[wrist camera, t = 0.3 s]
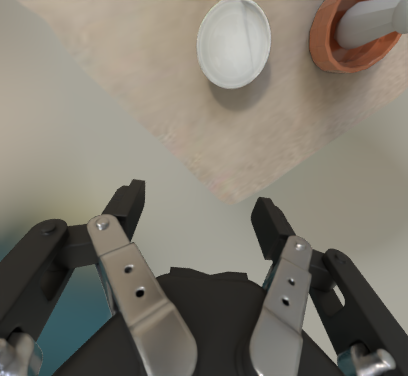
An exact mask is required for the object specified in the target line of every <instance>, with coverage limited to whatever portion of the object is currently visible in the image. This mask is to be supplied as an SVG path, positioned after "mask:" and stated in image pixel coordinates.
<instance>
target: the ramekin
mask: <svg viewBox="0 0 408 376" xmlns="http://www.w3.org/2000/svg"><path fill="white" fill-rule="evenodd" d="M270 48H271V30H270V25H269V22H268V19H267V17H266V15H265V13H264V12H263V10H262V9H261V8H260V7H259V5H257V4H256V3H255V2H254V1H252V0H222V1H220V2H218V3H217V4H216V5H215V6H213V7H212V8H211V10H210V11H209V12H208V13H207V15H206V16H205V18H204V19H203V21H202V23H201V26H200V28H199V32H198V36H197V44H196V50H197V58H198V62H199V65H200V67H201V69H202V71H203V73H204V74H205V76H206V77H207V78H208V79H209V80H210V81H211V82H212V83H213V84H215V85H217V86H219V87H221V88H225V89H237V88H240V87H243V86H245V85H247V84H249V83H251V82H252V81H253V80H254V79H255V78H256V77H257V76H258V75H259V74H260V73H261V71H262V70H263V68H264V66H265V64H266V62H267V60H268V57H269V53H270Z"/></svg>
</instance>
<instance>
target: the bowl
mask: <svg viewBox="0 0 408 376" xmlns="http://www.w3.org/2000/svg"><path fill="white" fill-rule="evenodd" d="M362 1H369V0H324V2H323V3H322V5H321V6H320V8H319V9H318V11H317V13H316V16H315V19H314V21H313V24H312V27H311V30H310V42H309V49H310V52H311V56H312V59H313V62H314V63H315V64H316V65H317V66H318V67H319V68H320V69H321V70H323V71H328V72H332V73H353V72H357V71H361V70H365V69H367V68H369V67H370V66H372V65H373V64H375V63H376V62H378V61H379V60H381V59H382V58H384V56H385V55H386V54H387V53H388V52H389V51H390V50H391V49H392V48H393V46H394V45H395V44H396V43H397V42H398V40H399V38H400V37H401V35H402V34H400V33H398V32H396V31H394V32H391V33H389V34H387V35H384V36H382V37H380V38H378V39H375V40H373V41H371V42H369V43H366V44H364V45H362V46H360V47H357V48H354V49H345V48H343V47H341V46H340V45H339V44H338V42H337V41H336V40H335V39H334V33H335V28H336V24H337V23H338V22H339V21H340V19H341V18H342V17H343V15H344V14H345V13H346V11H347V10H348V9H350V8H351V7H352V6H354V5H355V4H357V3H358V2H362Z"/></svg>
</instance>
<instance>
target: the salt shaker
mask: <svg viewBox="0 0 408 376" xmlns="http://www.w3.org/2000/svg"><path fill="white" fill-rule="evenodd" d="M394 31H396V32H398V33H400V34H406V33H408V0H369V1H362V2H358V3H357V4H355V5H354V6H352V7H351V8H350V9H348V10H347V11H346V13H345V14H344V15H343V17H342V18H341V19H340V21H339V22H338V23H337V24H336V28H335V33H334V39H335V40H336V41H337V42H338V44H339V45H340V46H341V47H343V48H345V49H354V48H357V47H360V46H362V45H364V44H366V43H369V42H371V41H373V40H375V39H378V38H380V37H382V36H384V35H387V34H389V33H391V32H394Z"/></svg>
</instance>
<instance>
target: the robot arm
mask: <svg viewBox="0 0 408 376" xmlns="http://www.w3.org/2000/svg"><path fill="white" fill-rule="evenodd" d="M144 203H145V181H142V180H135V179H133V180H132V182H131V184H130V185H129V186H122V187H120V188H119V189H117V191H116V192H115V194H114V196H113V197H112V199H111V200H110V202H109V203H108V205H107V206H106V208H105V210H104V211H103V212H102V214H101V215H98V216H95V217H94V218H92V219H91V220H89V222H88V223H87V224H83V225H75V226H67V223H66V222H65V221H63V220H60V219H50V220H46V221H43V222H40V223H38V224H37V225H35V226H34V227H32V228H31V230H30V231H29V232H28V233H27V234H26V235H25V236H24V237H23V238H22V239H21V240H20V241H19V242H18V243H17V245H16V246H15V247H14V248H13V249H12V250H11V251H10V252H9V253H8V254H7V255H6V256H5V257H4V259H3V260H2V261H1V262H0V376H38V373H39V370H40V367H41V364H42V360H43V354H42V351H41V349H40V347H39V346H38V345H37V344H36V341H37V339H38V337H39V336H40V334H41V332H42V330H43V328H44V326H45V324H46V322H47V320H48V319H49V316H50V315H51V313H52V311H53V309H54V307H55V305H56V303H57V301H58V300H59V298H60V296H61V294H62V292H63V290H64V288H65V286H66V285H67V283H68V281H69V279H70V277H71V275H72V273H73V271H74V269H75V268H76V267H82V266H87V265H92V264H95V267H96V269H97V272H98V275H99V277H100V280H101V283H102V286H103V289H104V291H105V295H106V298H107V302H108V305H109V308H110V311H111V314H112V317H111V318H110V319H109V320H108V321H107V322H106V323H105V324H104V325H103V326H102V327H101V328H100V329H99V330H98V331H97V332H96V333H95V334H94V335H93V336H91V338H90V339H88V340H87V341H86V343H84V344H83V345H82V346H81V347H80V348H79V349H78V350H77V351H76V352H75V353H74V354H73V355H72V356H71V357H70V358H69V359H68V360H67V361H66V362H64V363H63V364H62V365H61V366H60V367H59V368H58V369H57V370H56V371H55V372H54V374H53V375H52V376H408V336H407V334H406V333H405V331H404V330H403V329H402V327H401V326H400V325H399V323H398V322H397V321H396V319H395V318H394V317H393V316H392V314H391V313H390V311H389V310H388V309H387V308H386V306H385V305H384V303H383V302H382V301H381V299H380V298H379V297H378V295H377V294H376V293H375V291H374V290H373V289H372V287H371V286H370V285H369V283H368V282H367V281H366V279H365V278H364V277H363V275H362V274H361V273H360V271H359V270H358V269H357V267H356V266H355V265H354V263H353V262H352V261H351V259H350V258H349V257H348V256H347V255H345V254H344V253H342V252H340V251H339V250H336V249H328V250H327V251H326V252H325V253H322V252H319V251H316V250H314V249H312V247H311V245H310V244H309V243H308V242H307V241H306V240H305V239H303V238H301V237H299V236H296V234H295V233H294V231H293V229H292V227H291V226H290V224H289V223H288V222H287V219H286V218H285V216H284V214H283V212H282V211H281V210H280V209H279V208H278V207H277V206H275V205H274V204H273V202H272V200H271V199H270V198H264V197H259V198H258V199H257V202H256V204H255V207H254V209H253V211H252V214H251V222H252V225H253V227H254V231H255V233H256V236H257V239H258V242H259V244H260V247H261V250H262V253H263V256H264V258H265V260H272V261H273V264H272V265H271V267H270V269H269V272H268V274H267V276H266V279H265V280H264V283H263V285H262V287H261V286H259V285H258V284H256V283H254V282H253V281H250V280H248V277H247V273H239V272H224V273H218V274H213V275H209V274H205V273H202V272H199V271H196V270H193V269H190V268H178V267H171V269H170V273H168V274H164V275H161V276H158V277H156V278H155V276H154V275H153V273H152V271H151V269H150V268H149V266H148V264H147V262H146V261H145V259H144V257H143V256H142V254H141V252H140V250H139V249H138V247H137V245H136V244H135V243H134V242H132V243H130V242H131V239H132V237H133V234H134V231H135V229H136V226H137V224H138V221H139V218H140V216H141V213H142V211H143V207H144ZM336 285H337V286H338V287H339V289H340V291H341V292H342V294H343V296H344V299H345V305H344V307H343V305H342V304H341V302H340V300H339V298H338V296H337V295H336V293H335V291H334V289H333V288H334V287H335V286H336ZM308 293H309V294H310V296H311V298H312V301H313V303H314V305H315V307H316V310H317V312H318V314H319V316H320V319H321V321H322V323H323V325H324V328H325V330H326V332H327V334H328V336H329V339H330V341H331V343H332V345H333V348H334V350H335V352H336V354H337V365H338V366H337V365H336V364H335V363H334V362H333V361H332V360H331V359H330V358H329V357H328V356H327V355H326V354H325V353H324V351H323V350H322V349H321V348H320V347H319V346H318V345H317V344H316V343H315V342H314V341H313V340H312V339H311V338H310V337H309V336H308V335H307V333H306V332H305V331H304V330H303V329H302V325H303V320H304V315H305V309H306V304H307V299H308Z"/></svg>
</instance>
